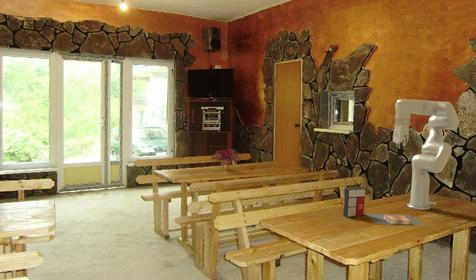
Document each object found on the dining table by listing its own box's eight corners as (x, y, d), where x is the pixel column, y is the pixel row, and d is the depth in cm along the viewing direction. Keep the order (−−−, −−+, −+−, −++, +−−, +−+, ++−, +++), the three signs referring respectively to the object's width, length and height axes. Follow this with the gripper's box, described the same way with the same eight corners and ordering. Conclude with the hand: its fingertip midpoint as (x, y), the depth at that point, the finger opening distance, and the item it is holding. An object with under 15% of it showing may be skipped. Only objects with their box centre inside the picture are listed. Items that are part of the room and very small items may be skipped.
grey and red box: (347, 217, 218) (349, 189, 216) (342, 215, 222) (344, 187, 220) (364, 216, 222) (366, 188, 220) (359, 214, 226) (361, 187, 224)
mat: (408, 216, 225) (408, 214, 225) (425, 227, 207) (425, 225, 206) (364, 214, 225) (364, 213, 225) (377, 225, 206) (377, 223, 206)
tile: (403, 215, 216) (410, 220, 207) (402, 219, 216) (410, 224, 207) (384, 215, 216) (390, 220, 207) (383, 218, 216) (390, 223, 207)
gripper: (390, 121, 234) (387, 153, 236) (401, 122, 219) (398, 157, 221) (403, 121, 234) (400, 154, 236) (415, 123, 219) (412, 158, 221)
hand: (399, 155), depth 228 cm, fingers closed
